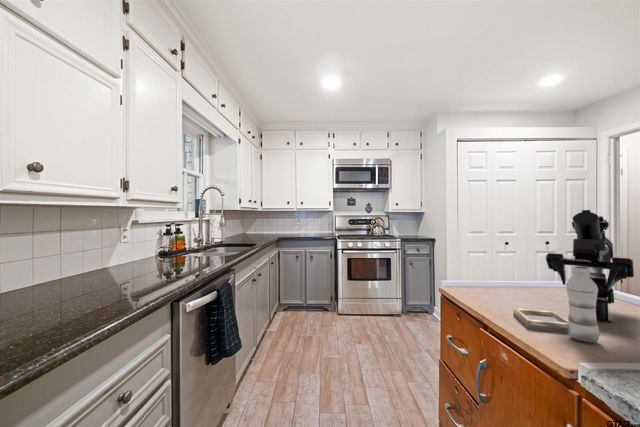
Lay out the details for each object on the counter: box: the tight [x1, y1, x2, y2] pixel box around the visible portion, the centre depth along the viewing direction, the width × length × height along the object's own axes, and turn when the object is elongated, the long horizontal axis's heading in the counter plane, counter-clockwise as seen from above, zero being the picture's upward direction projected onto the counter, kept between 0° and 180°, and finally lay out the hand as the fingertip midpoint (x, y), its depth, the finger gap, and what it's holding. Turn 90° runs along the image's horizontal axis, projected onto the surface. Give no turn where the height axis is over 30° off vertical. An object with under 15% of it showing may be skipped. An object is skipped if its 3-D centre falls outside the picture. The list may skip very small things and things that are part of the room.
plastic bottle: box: [565, 265, 601, 344], centre depth 74 cm, size 6×7×20 cm
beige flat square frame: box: [512, 308, 568, 333], centre depth 85 cm, size 12×12×2 cm
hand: (584, 286), depth 78 cm, fingers open, 9 cm apart
